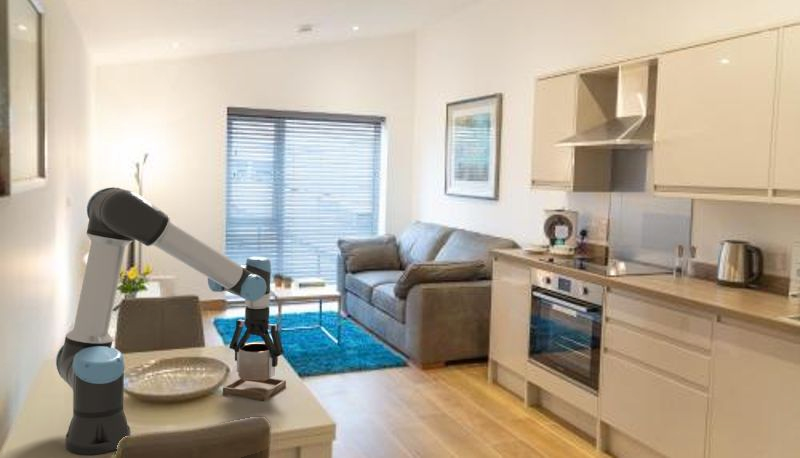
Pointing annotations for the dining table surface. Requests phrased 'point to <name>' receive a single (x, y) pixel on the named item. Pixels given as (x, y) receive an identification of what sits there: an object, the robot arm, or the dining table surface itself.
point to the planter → (254, 362)
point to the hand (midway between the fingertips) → (255, 373)
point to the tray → (254, 388)
